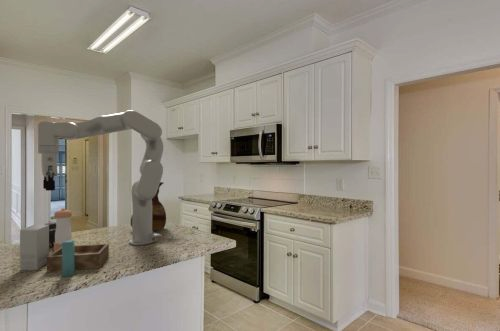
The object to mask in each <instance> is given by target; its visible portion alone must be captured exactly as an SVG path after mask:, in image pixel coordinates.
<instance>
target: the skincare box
mask: <svg viewBox="0 0 500 331" xmlns="http://www.w3.org/2000/svg"><path fill="white" fill-rule="evenodd" d="M49 255H50V248H49V225H44V224H32V225H30V226H27V227H24V228H22V229H20V230H19V271H37V270H39V269H41V268H43V267H44V266H47V256H49Z"/></svg>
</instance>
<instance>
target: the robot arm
mask: <svg viewBox="0 0 500 331" xmlns="http://www.w3.org/2000/svg"><path fill="white" fill-rule="evenodd" d="M128 130H133V131H135V132H136V133H138V134H140V137H141V139H142V140H143V141H144V143H145V152H144V155H143V158H142V161H141V163H140V166H139V173H140V178H139V179H138V180H136V181H135V182H134V183H133V184H132V186H131V189H130V190H131V202H132V206H131V208H132V210H131V211H132V215H131V217H132V226H131V228H132V232H131V234H132V238H130V239H129V241H128V244H130V245H132V246H143V245H144V246H145V245H150V244H153V243H154V242H156V239H161V238H162V234H161V233H155V232H154V231H152V198H153V197H154V196H155V195H156V193H157V190H158V187H159V184H160V182H162V181H161V180H162V177H163V174H164V173H163V172H164V166H163V164H162V163H161V160H162V156H163V153H164V143H163V139H162V134H163V130H162V127H161V126H160V125H159V124H158V123H157V122H155V121H153V120H152V119H150V118H148V117H147V116H145V115H143V114H141V113H139V111H136V110H134V109H133V110H132V109H127V110H125V111H124V112H118V113H112V114H107V115H100V116H96V117H94V118H92V119H89V120H86V121H85V120H84V121H80V122H75V123H74V122H71V121H62V122H58V121H57V122H54V121H39V122H38V123H37V154H40V155H41V174H42V176H43V179H42V182H43V189H44V190H45V191H55V190H56V181H55V179H56V178H55V177H57V176H58V175H59V173H58V157H57V155H58V154H59V155H60V141H59V140H60V139H64V140H67V141H73V140H78V139H84V138H90V137H94V136H103V135H108V134H111V133H117V132H122V131H128Z"/></svg>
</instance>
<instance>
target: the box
mask: <svg viewBox="0 0 500 331" xmlns="http://www.w3.org/2000/svg"><path fill="white" fill-rule="evenodd" d="M109 255H110V254H109V243H102V244H101V243H99V244H82V245H81V244H80V245H74V266H75V270H89V269H90V270H91V269H100V268H101V267H102V265H103V264H104V263H105V262H106V260H107V259H108V258H109ZM49 272H62V247H60V248H59V249H57V250H56V251H53V252H51V253H49V256H47V264H46V273H49Z"/></svg>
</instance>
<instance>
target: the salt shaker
mask: <svg viewBox="0 0 500 331" xmlns="http://www.w3.org/2000/svg"><path fill="white" fill-rule="evenodd" d="M53 214H54V215H53V216H54V218H56V219H55V222H56V231H55V243H54V247H53V252H55V251H56V250H57V249H59V248H60V247H62V242H64V241H69V240H72V235H73V234H72V229H71V217H72V215H73V212H72V211H71V210H70V209H66V208H61V209H59V210H57V211H55V212H54V213H53Z"/></svg>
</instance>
